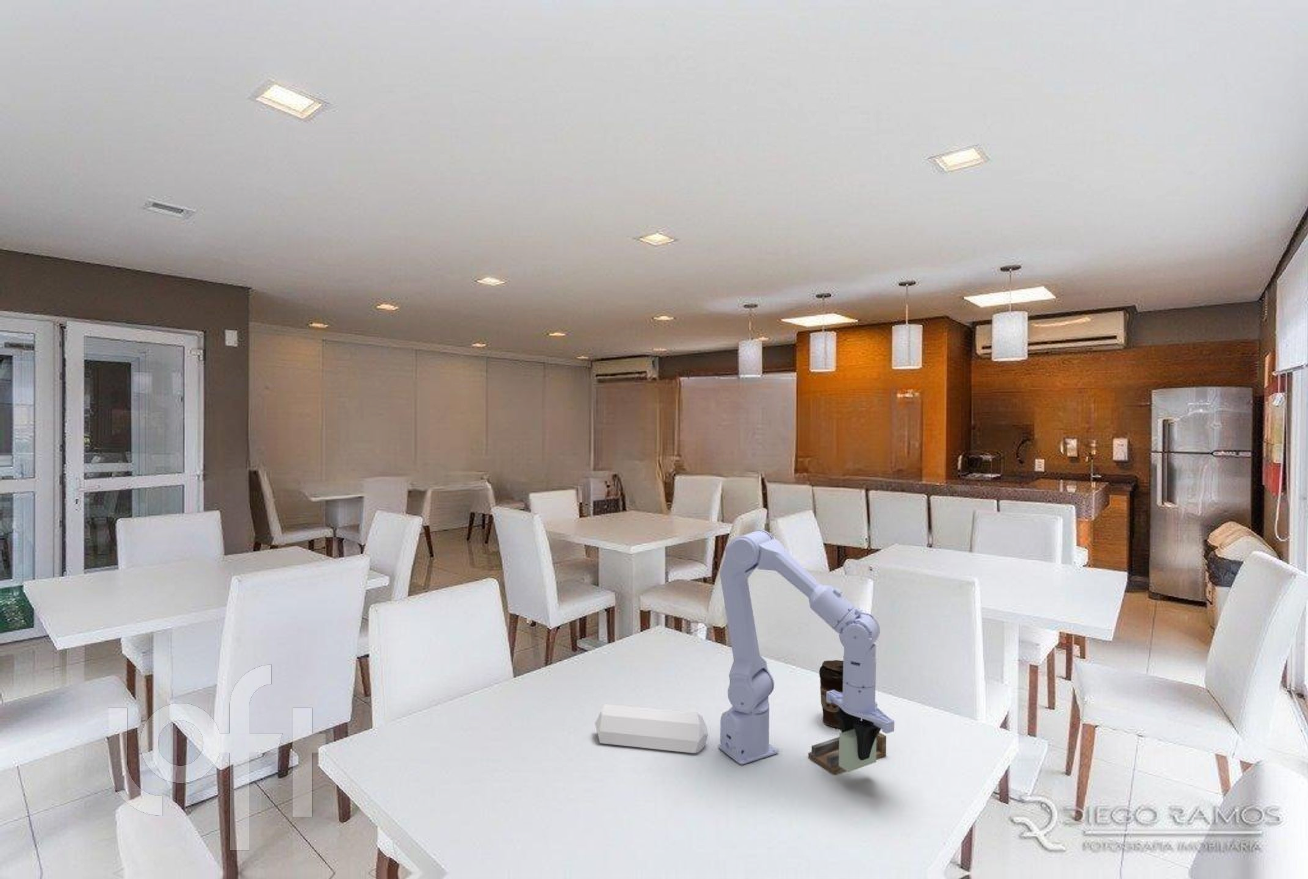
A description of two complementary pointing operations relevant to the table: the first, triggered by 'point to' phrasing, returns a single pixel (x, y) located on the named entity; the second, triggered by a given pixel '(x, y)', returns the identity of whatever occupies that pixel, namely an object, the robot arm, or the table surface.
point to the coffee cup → (830, 688)
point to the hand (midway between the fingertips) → (857, 754)
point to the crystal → (651, 728)
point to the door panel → (852, 752)
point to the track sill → (829, 753)
